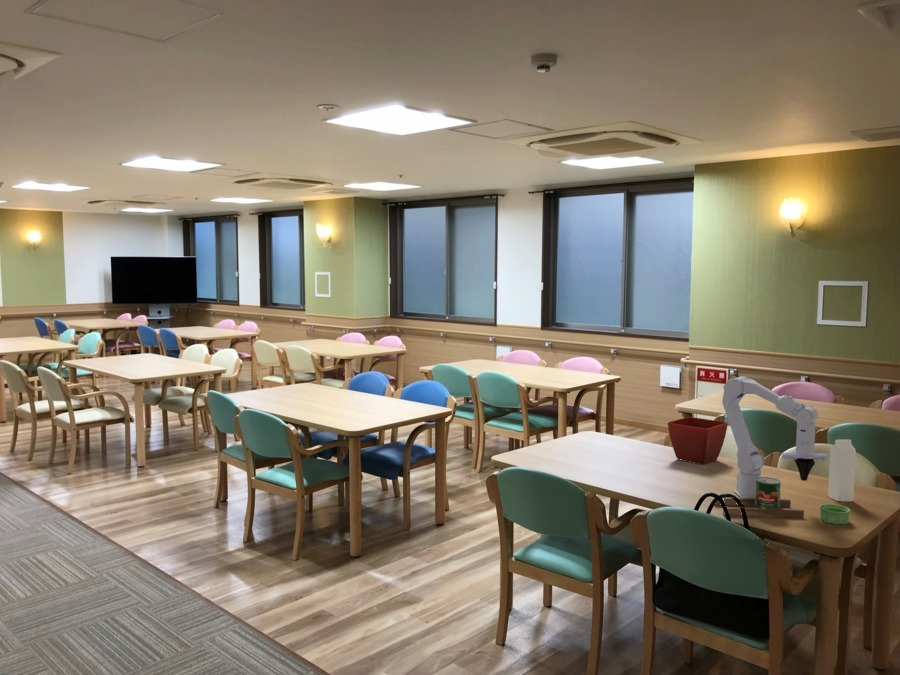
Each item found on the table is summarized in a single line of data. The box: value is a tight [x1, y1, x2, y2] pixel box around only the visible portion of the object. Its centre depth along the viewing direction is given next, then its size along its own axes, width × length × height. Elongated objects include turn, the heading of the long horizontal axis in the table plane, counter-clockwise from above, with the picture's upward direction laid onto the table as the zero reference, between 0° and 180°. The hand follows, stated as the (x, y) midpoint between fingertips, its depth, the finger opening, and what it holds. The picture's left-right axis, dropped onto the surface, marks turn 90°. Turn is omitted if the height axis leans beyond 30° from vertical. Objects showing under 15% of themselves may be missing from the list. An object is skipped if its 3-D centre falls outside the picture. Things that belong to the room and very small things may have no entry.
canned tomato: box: [754, 476, 782, 508], centre depth 248 cm, size 8×8×11 cm
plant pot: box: [667, 416, 729, 465], centre depth 316 cm, size 19×19×17 cm
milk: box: [827, 438, 857, 502], centre depth 261 cm, size 6×6×22 cm
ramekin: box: [819, 503, 851, 525], centre depth 239 cm, size 9×9×4 cm
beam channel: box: [714, 497, 805, 518], centre depth 249 cm, size 13×26×3 cm, turn 86°
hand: (803, 479), depth 251 cm, fingers closed
